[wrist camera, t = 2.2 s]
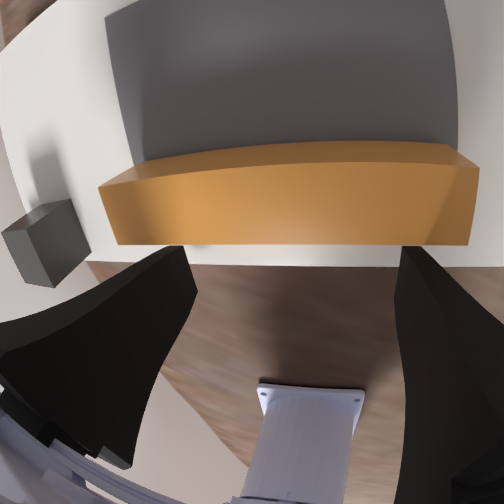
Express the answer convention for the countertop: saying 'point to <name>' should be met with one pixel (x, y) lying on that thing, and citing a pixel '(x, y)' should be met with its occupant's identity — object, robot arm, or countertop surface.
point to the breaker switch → (298, 196)
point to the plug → (47, 243)
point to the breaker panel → (252, 101)
